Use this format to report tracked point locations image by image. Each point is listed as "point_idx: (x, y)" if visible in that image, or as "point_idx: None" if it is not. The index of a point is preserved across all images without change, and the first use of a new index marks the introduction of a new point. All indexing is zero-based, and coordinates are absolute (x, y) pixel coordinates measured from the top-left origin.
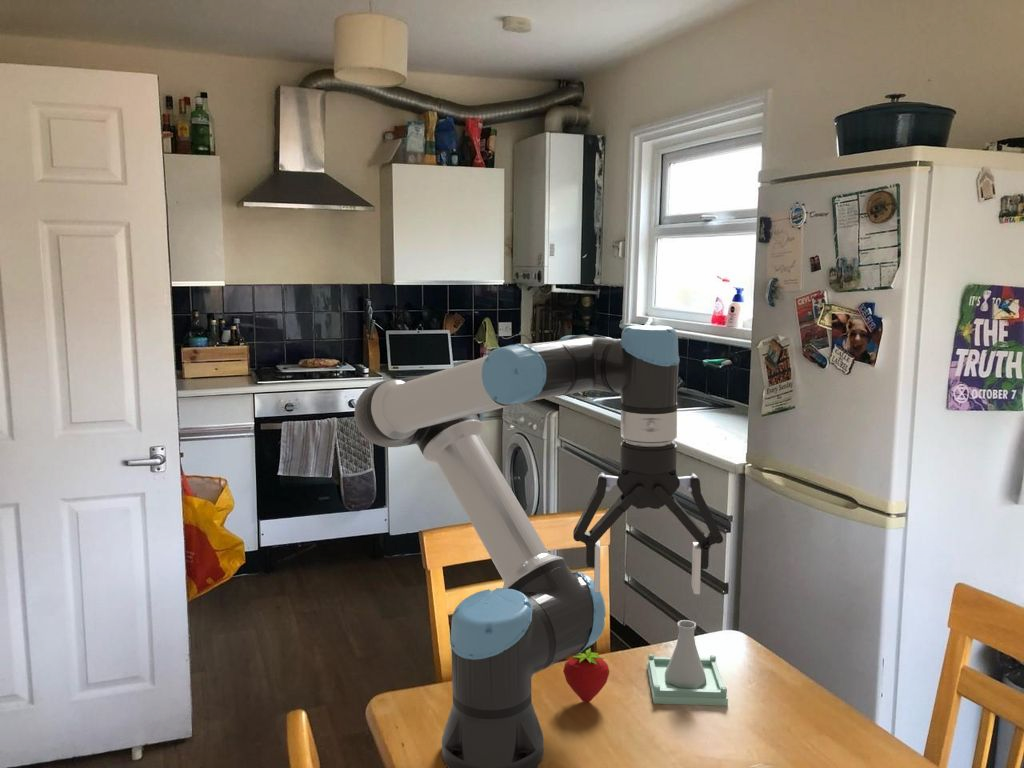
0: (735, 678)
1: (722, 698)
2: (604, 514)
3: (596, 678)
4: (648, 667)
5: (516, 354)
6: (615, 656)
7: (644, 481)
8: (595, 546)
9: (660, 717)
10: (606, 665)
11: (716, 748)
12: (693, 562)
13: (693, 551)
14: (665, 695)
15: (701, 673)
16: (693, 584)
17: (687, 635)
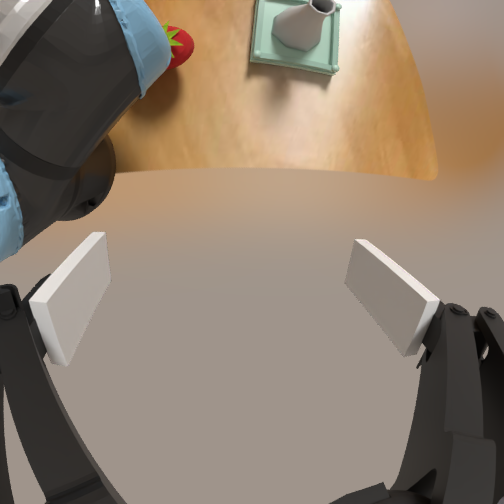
0: (352, 29)
1: (329, 72)
2: (10, 406)
3: (173, 67)
4: (256, 2)
5: None
6: None
7: None
8: (51, 359)
9: (252, 89)
10: (188, 47)
11: (300, 150)
12: (386, 295)
13: (405, 309)
14: (265, 59)
15: (317, 38)
16: (356, 274)
17: (317, 16)
